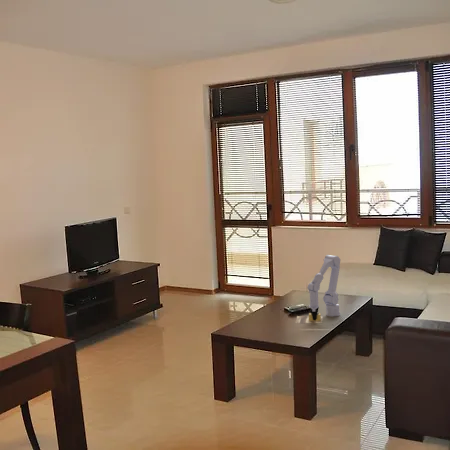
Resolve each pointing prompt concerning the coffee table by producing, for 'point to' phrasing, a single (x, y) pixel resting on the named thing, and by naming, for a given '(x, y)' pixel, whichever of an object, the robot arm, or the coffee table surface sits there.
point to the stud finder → (316, 318)
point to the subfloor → (306, 320)
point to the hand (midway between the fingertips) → (314, 318)
